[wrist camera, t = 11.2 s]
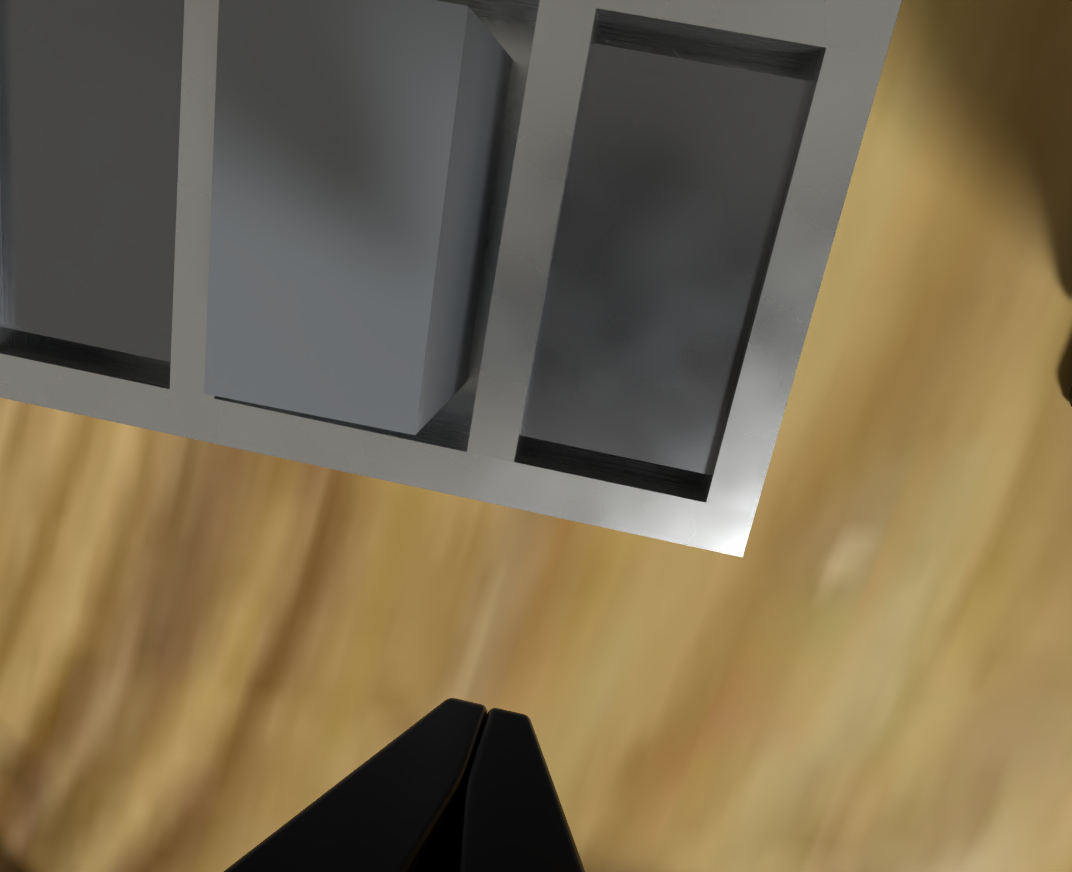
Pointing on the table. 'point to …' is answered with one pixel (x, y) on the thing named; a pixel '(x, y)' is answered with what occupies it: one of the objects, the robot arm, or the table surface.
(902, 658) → the table surface
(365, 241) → the grey upright box
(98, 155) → the rack
